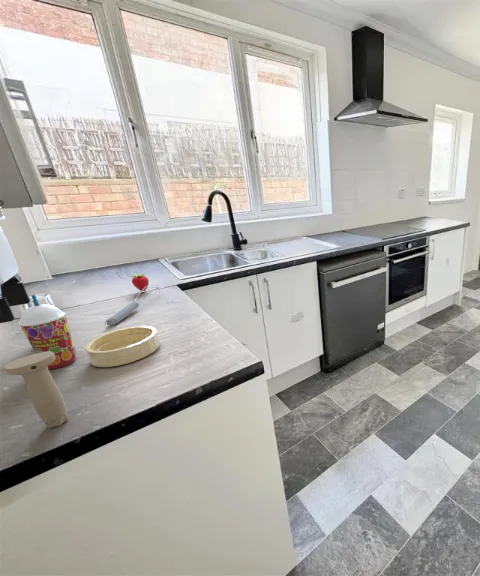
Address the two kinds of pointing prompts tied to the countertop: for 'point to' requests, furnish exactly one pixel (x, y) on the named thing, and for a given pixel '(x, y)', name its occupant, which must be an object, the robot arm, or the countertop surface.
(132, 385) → the countertop surface
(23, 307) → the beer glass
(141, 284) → the strawberry
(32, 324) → the smoothie
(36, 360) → the handle
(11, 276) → the robot arm
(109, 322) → the kitchen whisk
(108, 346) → the bowl
